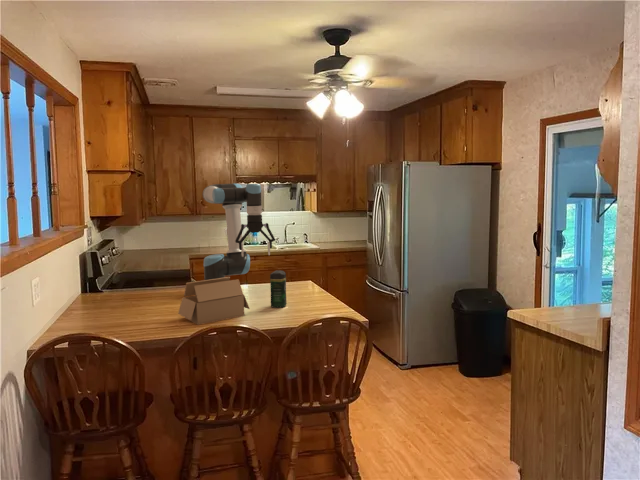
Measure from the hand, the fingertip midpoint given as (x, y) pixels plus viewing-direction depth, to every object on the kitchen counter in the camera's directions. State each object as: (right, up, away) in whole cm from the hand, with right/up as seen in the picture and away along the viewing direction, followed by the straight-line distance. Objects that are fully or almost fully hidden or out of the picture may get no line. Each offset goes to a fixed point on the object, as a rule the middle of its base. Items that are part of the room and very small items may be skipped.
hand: (255, 255), depth 262 cm
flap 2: (-13, -20, -22) cm, 33 cm away
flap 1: (-24, -18, -8) cm, 31 cm away
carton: (-18, -29, -14) cm, 37 cm away
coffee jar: (+12, -27, +4) cm, 29 cm away
